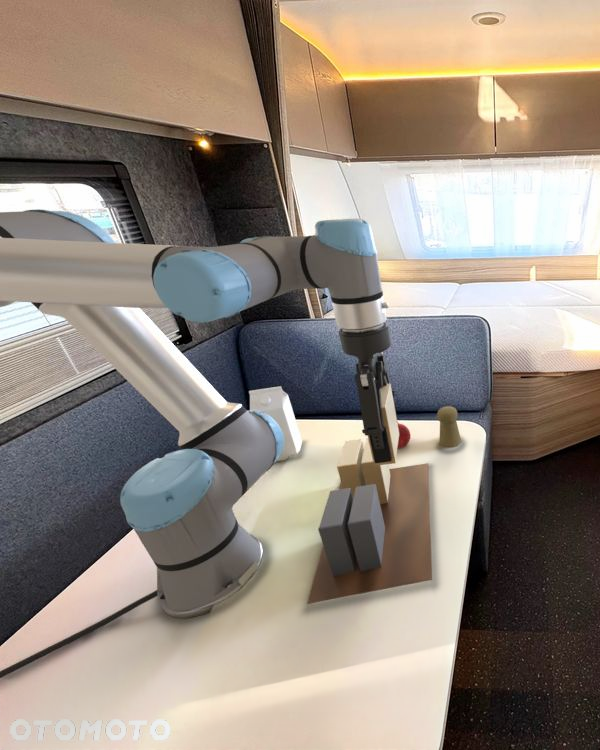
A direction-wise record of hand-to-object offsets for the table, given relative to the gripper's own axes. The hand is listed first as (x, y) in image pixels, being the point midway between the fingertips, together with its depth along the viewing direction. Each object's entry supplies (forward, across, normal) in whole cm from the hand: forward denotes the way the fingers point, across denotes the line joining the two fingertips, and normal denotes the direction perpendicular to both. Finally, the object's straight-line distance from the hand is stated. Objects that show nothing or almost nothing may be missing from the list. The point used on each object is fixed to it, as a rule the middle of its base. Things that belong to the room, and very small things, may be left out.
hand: (386, 444), depth 70 cm
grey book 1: (+18, -6, +9) cm, 21 cm away
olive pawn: (+20, +26, -11) cm, 34 cm away
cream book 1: (+18, +10, +10) cm, 23 cm away
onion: (+20, +27, +2) cm, 34 cm away
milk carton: (+20, +31, +32) cm, 49 cm away
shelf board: (+20, +1, +4) cm, 20 cm away
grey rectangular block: (+18, -6, +5) cm, 20 cm away
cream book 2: (+1, 0, 0) cm, 1 cm away
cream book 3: (+18, +10, +5) cm, 21 cm away
